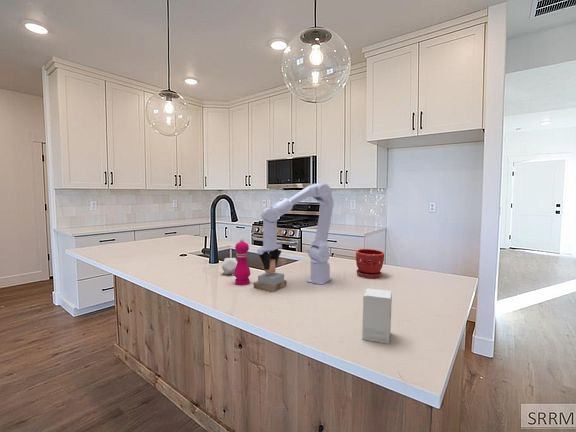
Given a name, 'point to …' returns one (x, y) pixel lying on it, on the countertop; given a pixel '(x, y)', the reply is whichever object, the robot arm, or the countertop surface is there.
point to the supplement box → (377, 315)
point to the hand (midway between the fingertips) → (270, 268)
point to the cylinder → (271, 266)
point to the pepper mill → (242, 263)
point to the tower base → (270, 286)
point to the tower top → (271, 278)
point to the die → (229, 266)
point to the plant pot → (369, 262)
